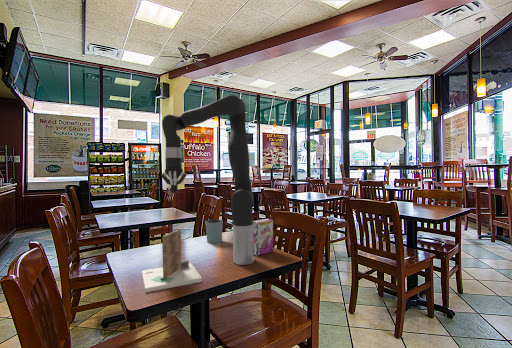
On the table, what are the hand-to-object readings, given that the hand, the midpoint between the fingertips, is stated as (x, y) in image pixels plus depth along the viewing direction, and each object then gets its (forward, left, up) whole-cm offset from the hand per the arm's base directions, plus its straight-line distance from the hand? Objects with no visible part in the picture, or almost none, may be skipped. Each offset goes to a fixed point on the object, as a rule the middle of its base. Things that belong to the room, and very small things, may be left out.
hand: (174, 192), depth 136 cm
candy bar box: (-42, -7, -31) cm, 53 cm away
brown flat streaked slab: (-9, +24, -29) cm, 39 cm away
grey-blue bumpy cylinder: (-13, -27, -31) cm, 43 cm away
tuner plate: (-7, +26, -31) cm, 41 cm away
